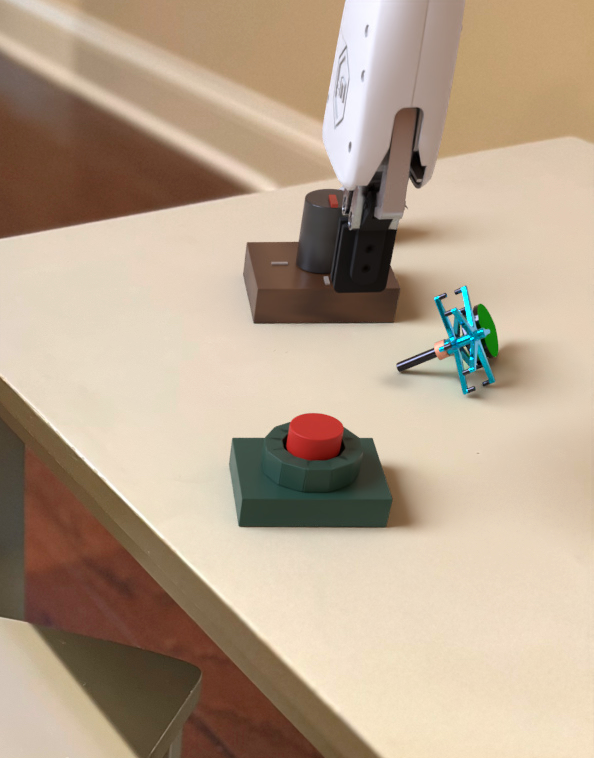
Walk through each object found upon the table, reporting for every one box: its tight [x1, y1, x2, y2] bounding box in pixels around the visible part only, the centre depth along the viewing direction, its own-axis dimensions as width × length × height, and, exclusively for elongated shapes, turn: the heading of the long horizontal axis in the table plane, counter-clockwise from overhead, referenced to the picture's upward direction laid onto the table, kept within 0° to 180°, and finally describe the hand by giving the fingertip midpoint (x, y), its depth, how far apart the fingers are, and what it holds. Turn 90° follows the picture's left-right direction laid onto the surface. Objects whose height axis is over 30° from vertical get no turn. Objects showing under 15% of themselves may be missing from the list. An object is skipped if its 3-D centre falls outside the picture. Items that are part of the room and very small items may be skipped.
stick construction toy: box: [395, 284, 499, 396], centre depth 94 cm, size 12×7×8 cm
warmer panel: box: [242, 241, 402, 324], centre depth 104 cm, size 12×10×3 cm
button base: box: [228, 421, 393, 528], centre depth 82 cm, size 10×8×4 cm
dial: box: [296, 188, 349, 274], centre depth 101 cm, size 4×4×6 cm
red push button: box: [286, 412, 345, 461], centre depth 80 cm, size 4×4×2 cm
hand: (357, 286), depth 74 cm, fingers closed
